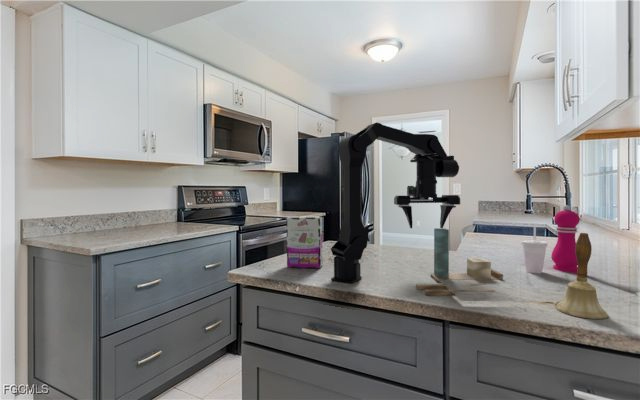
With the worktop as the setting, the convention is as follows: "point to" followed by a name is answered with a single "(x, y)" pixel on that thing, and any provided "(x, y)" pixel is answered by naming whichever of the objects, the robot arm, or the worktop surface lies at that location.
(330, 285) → the worktop surface
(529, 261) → the smoothie
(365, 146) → the robot arm
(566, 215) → the pepper mill
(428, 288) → the broken lane
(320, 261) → the candy bar box
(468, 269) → the maple block
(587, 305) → the hand bell
